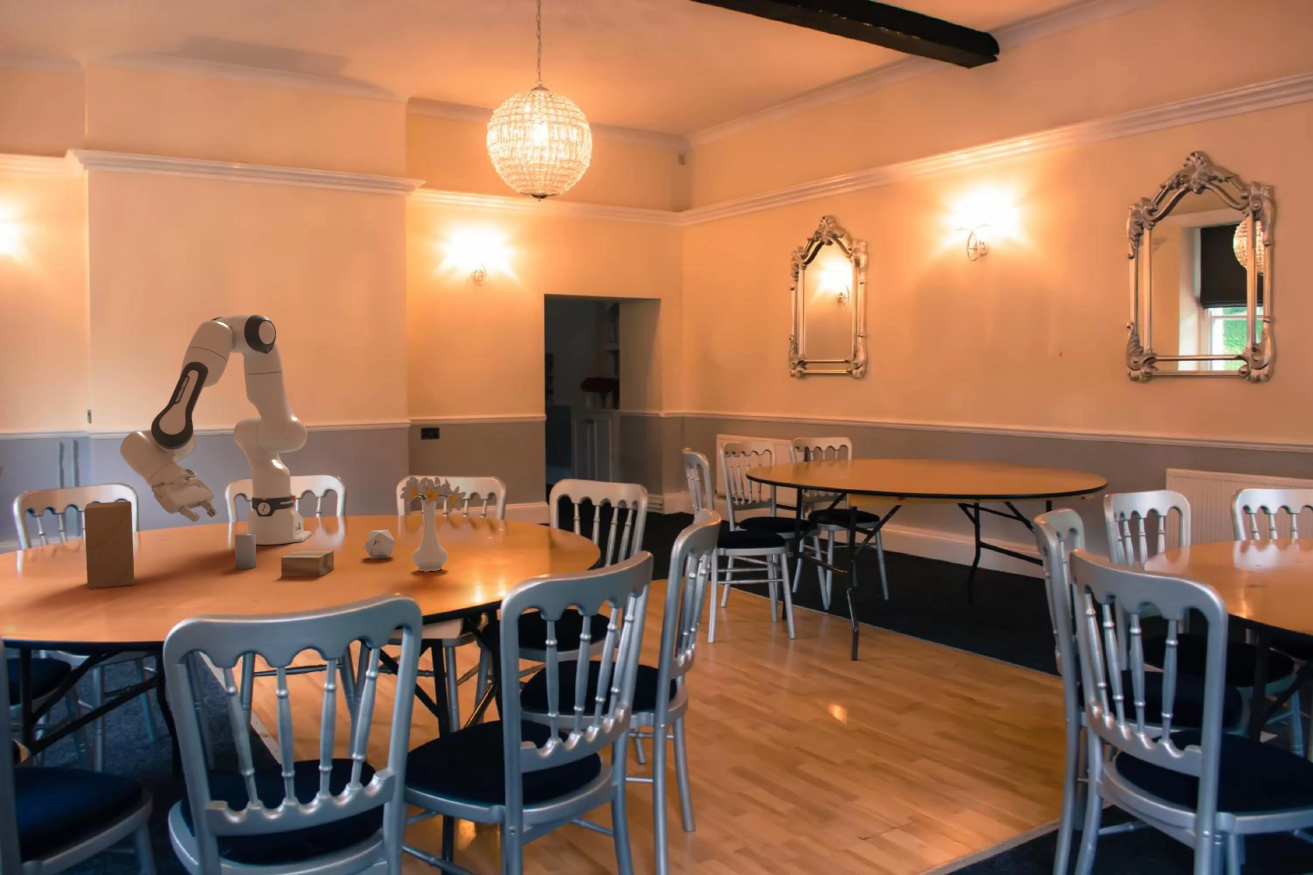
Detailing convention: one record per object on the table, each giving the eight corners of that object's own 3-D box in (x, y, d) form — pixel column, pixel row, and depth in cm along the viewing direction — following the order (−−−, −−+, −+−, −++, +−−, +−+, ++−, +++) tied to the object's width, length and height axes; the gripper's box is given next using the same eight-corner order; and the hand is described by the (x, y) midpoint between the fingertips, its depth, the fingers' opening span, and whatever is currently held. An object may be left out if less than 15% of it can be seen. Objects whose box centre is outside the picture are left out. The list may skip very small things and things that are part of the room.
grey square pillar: (240, 565, 270) (240, 532, 269) (259, 565, 270) (258, 532, 269) (232, 568, 265) (231, 535, 264) (251, 569, 264) (250, 535, 264)
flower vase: (452, 576, 254) (450, 480, 252) (389, 572, 259) (387, 478, 258) (475, 567, 266) (474, 475, 265) (415, 563, 272) (414, 473, 270)
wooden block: (87, 589, 239) (84, 508, 238) (89, 581, 248) (86, 503, 247) (133, 585, 244) (130, 505, 243) (134, 578, 253) (131, 500, 252)
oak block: (297, 568, 264) (296, 550, 264) (333, 569, 264) (333, 550, 264) (281, 576, 254) (281, 557, 254) (319, 576, 254) (319, 557, 254)
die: (358, 559, 281) (359, 536, 275) (374, 541, 287) (375, 517, 281) (383, 570, 279) (384, 547, 274) (399, 551, 286) (401, 528, 280)
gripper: (156, 477, 256) (194, 514, 256) (196, 469, 276) (231, 504, 276) (140, 494, 256) (177, 531, 256) (181, 485, 277) (216, 520, 277)
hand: (205, 517), depth 267 cm, fingers open, 8 cm apart
